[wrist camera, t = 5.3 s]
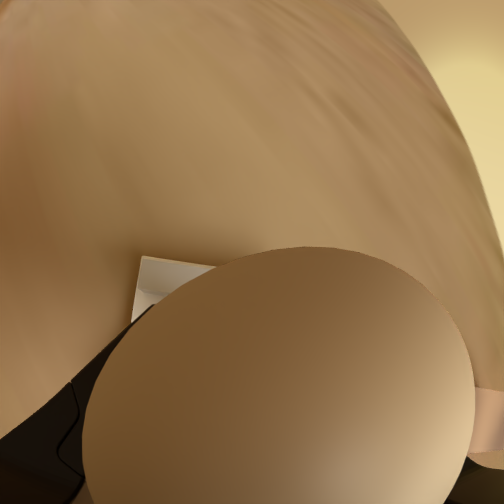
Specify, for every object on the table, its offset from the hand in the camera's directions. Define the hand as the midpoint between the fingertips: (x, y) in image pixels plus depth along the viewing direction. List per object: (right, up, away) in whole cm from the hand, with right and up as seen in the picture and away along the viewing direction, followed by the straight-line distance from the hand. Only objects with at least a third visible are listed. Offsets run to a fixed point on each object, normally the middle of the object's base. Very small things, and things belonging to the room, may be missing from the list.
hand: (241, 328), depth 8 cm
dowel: (-1, -3, +6) cm, 7 cm away
